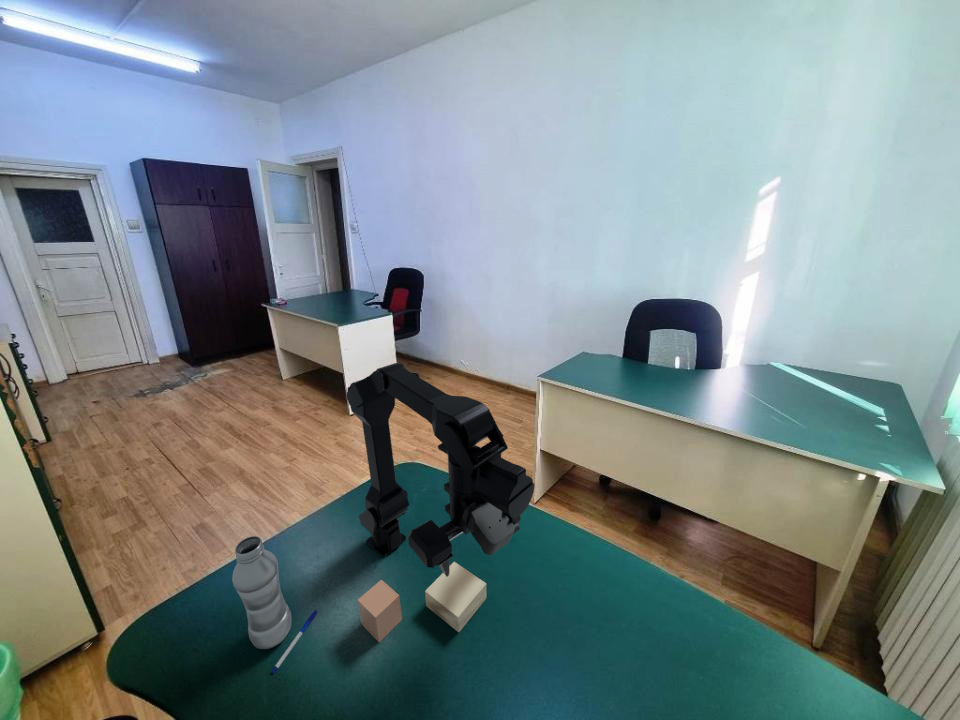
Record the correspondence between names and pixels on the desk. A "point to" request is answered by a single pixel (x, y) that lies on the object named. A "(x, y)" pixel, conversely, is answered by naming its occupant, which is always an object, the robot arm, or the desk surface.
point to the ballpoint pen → (295, 640)
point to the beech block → (456, 596)
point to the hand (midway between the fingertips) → (468, 558)
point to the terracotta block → (380, 610)
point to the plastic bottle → (261, 593)
